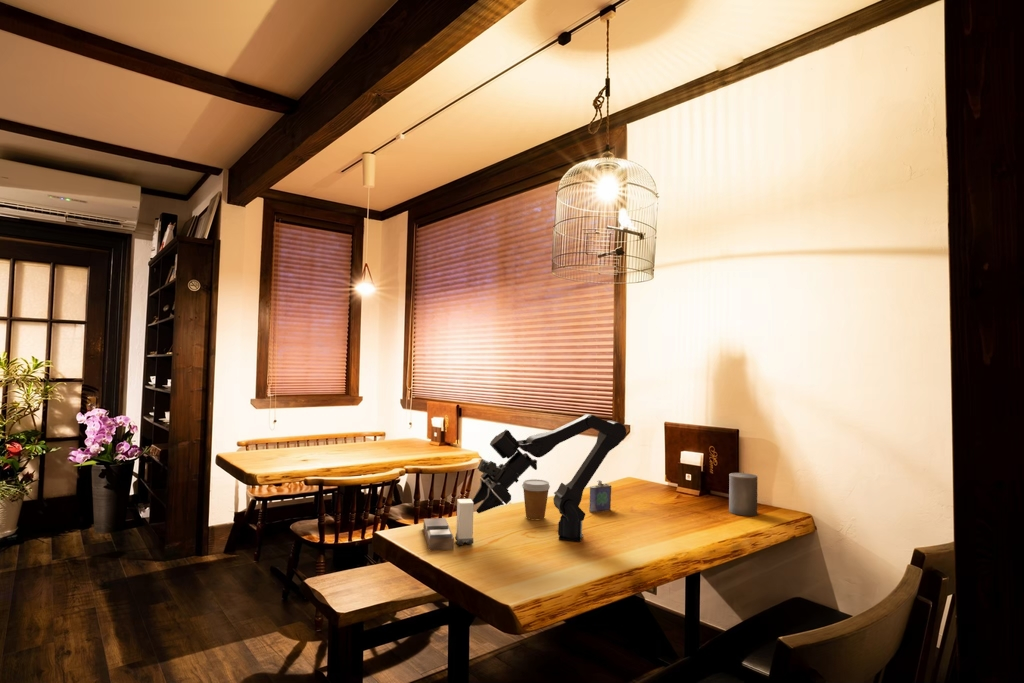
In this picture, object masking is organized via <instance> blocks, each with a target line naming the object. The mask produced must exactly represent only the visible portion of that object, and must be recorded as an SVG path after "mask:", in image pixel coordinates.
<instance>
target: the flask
mask: <svg viewBox="0 0 1024 683" xmlns="http://www.w3.org/2000/svg"><path fill="white" fill-rule="evenodd" d="M596 482H597V485H591V486H590V487H589V508H588V509H589V510H588V511H589V513H591V514H592V513H602V512H607V511H608V512H609V511H611V507H612V506H611V501H612V499H611V497H612V485H611V484H608V483H603V482H602V480H597V481H596Z"/></svg>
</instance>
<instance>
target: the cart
mask: <svg viewBox="0 0 1024 683" xmlns="http://www.w3.org/2000/svg"><path fill="white" fill-rule="evenodd" d="M472 500H473V499H472V498H457V501H456V502H457V503H456V528H455V529H456V532H455V537H454V540H456V543H457V545H458V546H462V545H463V544H464V543H466V544H467V545H469V546H470V545H473V544H474V541H475V540H474V536H473V535H474V509H475V508H474V506H475V505H474V503H473V501H472Z"/></svg>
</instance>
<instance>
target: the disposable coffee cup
mask: <svg viewBox="0 0 1024 683" xmlns="http://www.w3.org/2000/svg"><path fill="white" fill-rule="evenodd" d="M521 487H522V489H523V490H522V491H523V499H524V500H523V501H524V508H525V518H526V517H527V518H530V519H542V520H544V519H545V518H544V517H545V516H546V509H547V505H548V497H549V496H548V495H549V490H550V488H551V485H550V481H547V480H543V479H533V478H532V479H525V480H523V484H522V485H521ZM527 518H526V519H527ZM543 518H544V519H543ZM530 519H529V520H530Z"/></svg>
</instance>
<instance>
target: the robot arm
mask: <svg viewBox="0 0 1024 683" xmlns="http://www.w3.org/2000/svg"><path fill="white" fill-rule="evenodd" d="M590 429H593V430H595V431H598V433H597V439H596V442H595V444H594V445H593V447H592V449H591V450H590V452H589V454H588V455H587V456H586V458H585V459H584V460H583V462H582V463H581V465H580V466H579V468H578V470H577V471H576V472H575V474H574V476H573V477H572V479H571V480H570V481H569V482H568V483H566V484H565V483H563V482H561V483H560V484H559V487H558V488H557V489H556V491H555V492H553V494H554V497H553V498H552V499H553V504H554V505H553V506H554V507H555V508H556V509H557V510H558V512H559V515H561V516H560V519H559V520H558V523H557V524H558V525H557V529H558V530H557V534H558V535H557V536H558V540H560V539H562V540H563V541H571V542H581V541H582V538H583V537H584V534H583V521H584V520H585V517H586V513H585V512H584V511H583V509H581V507H580V504H581V502H582V499H583V493H584V490H585V489H586V488H587V486H588V484H589V482H590V481H591V479H593V476H594V474H595V473H596V472H597V470H598V469H599V467H600V466H601V464H602V463H603V462H604V459H605V458H606V457H607V455H608V454H609V452H611V451H612V450H614V449H615V448H616V447H617V446H619V445H620V444H621V443H622V441H624V439H625V438H626V436H627V429H626V426H625V425H624V424H623V423H621V422H617V421H615V420H604V419H602V418H600V417H598V416H596V415H594V414H591V413H585V414H584V415H583V416H581V417H579V418H577V419H574V420H572V421H570V422H567V423H565V424H564V425H562V426H559V427H558V428H555V429H553V430H551V431H545V432H541V433H537V434H533V435H530V436H528V437H527V438H526V439H519V440H517V439H516V438H515V437H514V436H513V435H512V432H511V431H510V430H509V429H505V430H504V431H502V432H500V433H499V434H498V435H495V436H494V438H492V440H491V441H490V443H489V446H491V448H492V449H493V451H495V452H496V453H497V454H498V455H499V456H500V457H501V458H502V459H508V460H507V461H506V462H505V463H504V464H503V463H500V464H499V465H497V463H496V462H494V461H492V460H490V461H488V460H486V459H483V458H482V459H480V461H479V464H478V466H477V468H476V469H477V470H478V471H479V472H481V473H482V474H481V475H480V477H481V478H479V481H480V486H479V488H478V490H477V492H476V494H475V495H474V496H473V498H472V499H471V500H472V501H473V503H474V506H476V505H478V504H479V503H480V504H479V506H478V507H477V508H476V513H477V514H481V513H484V512H486V511H489V510H491V509H494V508H497V507H500V506H504V505H508V503H510V502H511V501H512V494H510V492H509V488H510V487H511V486H512V485H514V483H516V484H517V483H518V482H519V481H520V480H519V478H520V477H521V476H522V475H523V474H524V473H525V472H526V471H527V470H528V469H529V468H530V467H531V468H532V469H533V470H535V471H537V469H538V460H536V459H533V458H532V457H531V456H533V457H535V458H541V457H544V456H546V455H547V454H548V453H549V452H551V451H553V449H554V448H556V447H557V446H558V445H559V444H560V443H563V442H565V441H567V440H569V439H571V438H573V437H575V436H578V435H580V434H582V433H584V432H586V431H588V430H590ZM520 450H522V451H524V453H523V452H521V451H520ZM525 452H526V453H525ZM530 455H531V456H530ZM562 540H561V541H562Z"/></svg>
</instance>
